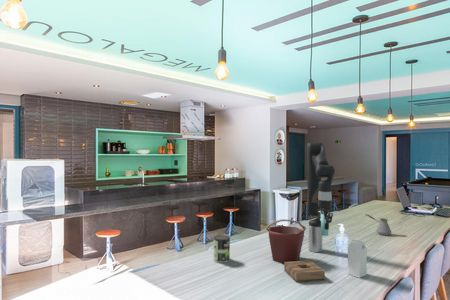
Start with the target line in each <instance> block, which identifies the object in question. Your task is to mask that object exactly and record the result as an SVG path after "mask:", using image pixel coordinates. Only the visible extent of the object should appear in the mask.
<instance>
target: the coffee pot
mask: <svg viewBox="0 0 450 300" xmlns="http://www.w3.org/2000/svg"><path fill="white" fill-rule="evenodd" d="M365 216H367V217H369V218H370V219H372V220H374V221H376V222H378V226H377V227H376V230H375V232H376V233H377V234H378V235H379V236H386V237H387V236H390V235H391V234H392V230H391V227H390V225H389V223H388V221H389V219H388V218H379V220H378V219H376V218H375V217H373V216H372V215H369V214H367V213H365Z"/></svg>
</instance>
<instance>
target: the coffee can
mask: <svg viewBox="0 0 450 300" xmlns="http://www.w3.org/2000/svg"><path fill="white" fill-rule="evenodd" d="M230 240H231V237H230V236H229V235H224V234H223V235H221V234H220V235H215V236H213V261H214V262H216V263H219V264H220V263H221V264H222V263H223V264H224V263H228V262H230V260H231V258H230V257H231V256H230V253H231V252H230V249H231V248H230V247H231V245H230V243H231V241H230Z"/></svg>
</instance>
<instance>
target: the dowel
mask: <svg viewBox="0 0 450 300" xmlns="http://www.w3.org/2000/svg"><path fill="white" fill-rule="evenodd" d="M326 221H327V219H326ZM321 235H323V236H324V237H327V236H329V229H328V230H326V229H325V219H324V217H323V214H321Z"/></svg>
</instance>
